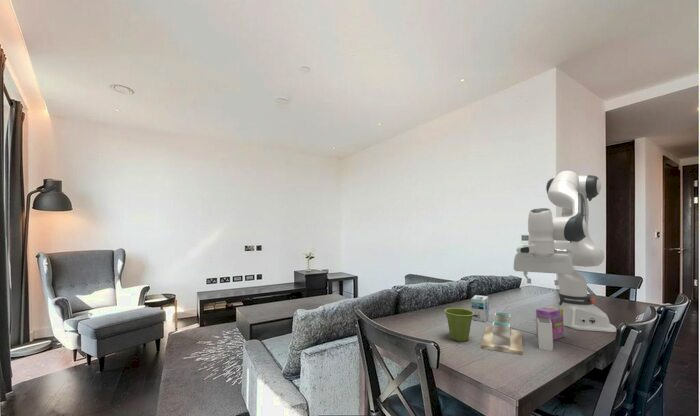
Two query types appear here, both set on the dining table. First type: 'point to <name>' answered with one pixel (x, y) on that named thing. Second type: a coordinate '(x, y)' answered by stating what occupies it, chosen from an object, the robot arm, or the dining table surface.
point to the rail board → (513, 342)
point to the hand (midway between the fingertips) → (542, 284)
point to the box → (552, 320)
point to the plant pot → (459, 323)
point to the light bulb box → (480, 307)
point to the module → (545, 334)
